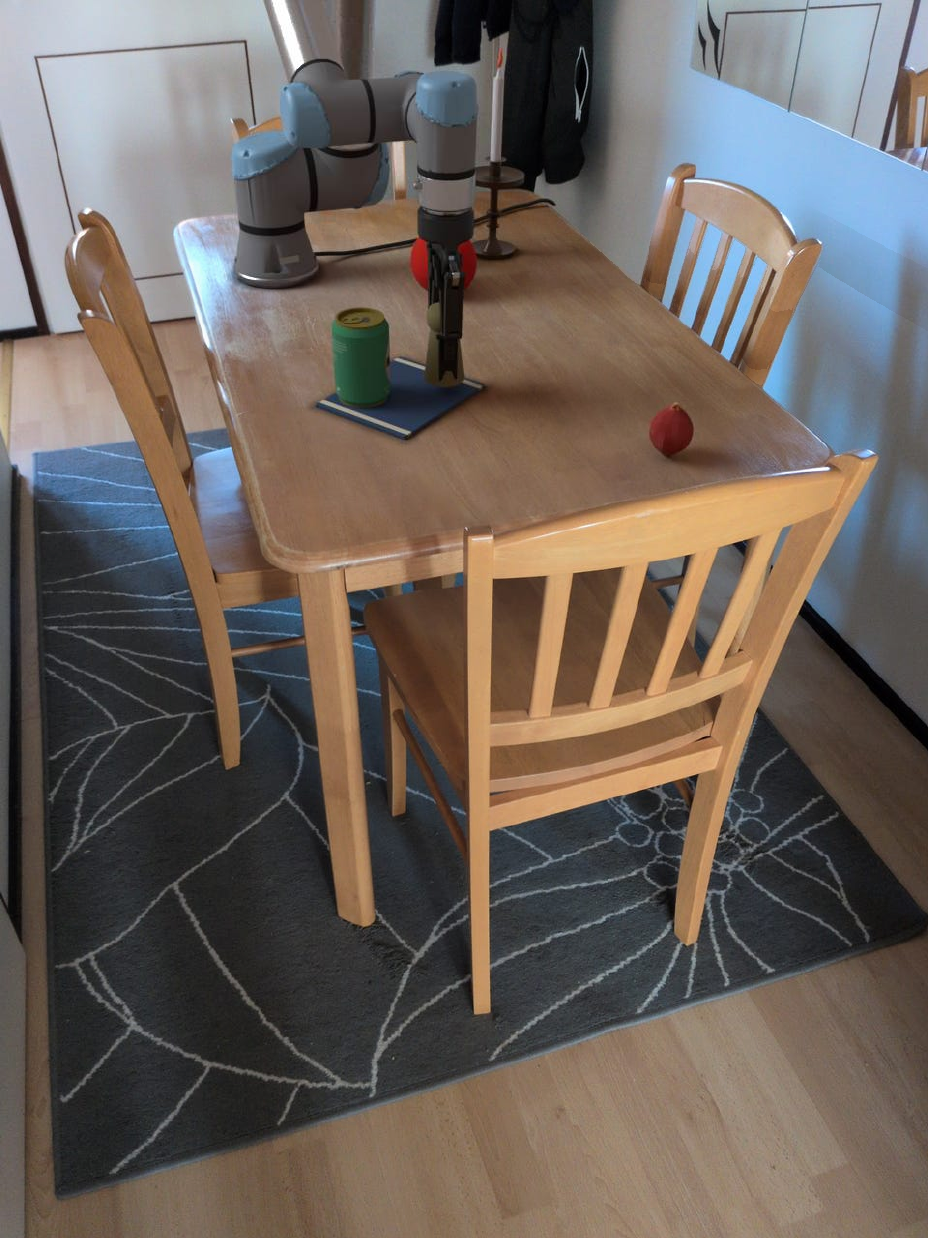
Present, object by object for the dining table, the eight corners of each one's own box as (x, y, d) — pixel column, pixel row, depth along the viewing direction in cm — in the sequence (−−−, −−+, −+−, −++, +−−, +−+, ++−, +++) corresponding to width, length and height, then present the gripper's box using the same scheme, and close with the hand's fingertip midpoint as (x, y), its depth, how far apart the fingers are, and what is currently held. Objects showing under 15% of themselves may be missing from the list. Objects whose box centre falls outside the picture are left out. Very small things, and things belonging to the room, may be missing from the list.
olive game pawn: (459, 388, 144) (461, 315, 137) (419, 384, 144) (418, 310, 137) (468, 371, 148) (470, 298, 141) (429, 366, 149) (429, 294, 142)
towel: (400, 358, 156) (400, 355, 156) (484, 387, 149) (485, 383, 149) (315, 406, 143) (315, 403, 143) (404, 440, 136) (404, 436, 136)
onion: (641, 445, 137) (649, 391, 132) (682, 444, 137) (692, 391, 132) (651, 467, 132) (659, 412, 127) (693, 466, 133) (703, 412, 128)
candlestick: (485, 238, 200) (492, 39, 177) (530, 250, 195) (543, 47, 173) (453, 253, 193) (456, 48, 171) (499, 265, 188) (508, 56, 166)
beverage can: (394, 406, 143) (392, 326, 135) (339, 411, 141) (334, 330, 134) (386, 381, 149) (384, 303, 141) (333, 385, 147) (327, 307, 140)
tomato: (487, 297, 176) (489, 237, 169) (427, 307, 172) (427, 246, 165) (457, 274, 184) (459, 216, 178) (400, 283, 180) (399, 224, 173)
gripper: (405, 188, 136) (408, 349, 151) (431, 229, 124) (431, 400, 139) (458, 186, 138) (456, 346, 153) (489, 225, 125) (483, 395, 140)
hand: (444, 371), depth 146 cm, fingers closed on olive game pawn, 4 cm apart
